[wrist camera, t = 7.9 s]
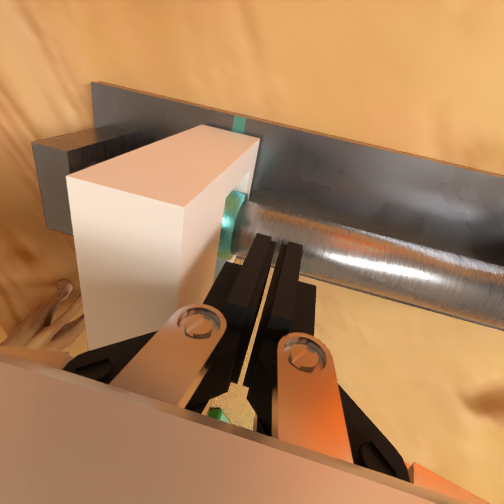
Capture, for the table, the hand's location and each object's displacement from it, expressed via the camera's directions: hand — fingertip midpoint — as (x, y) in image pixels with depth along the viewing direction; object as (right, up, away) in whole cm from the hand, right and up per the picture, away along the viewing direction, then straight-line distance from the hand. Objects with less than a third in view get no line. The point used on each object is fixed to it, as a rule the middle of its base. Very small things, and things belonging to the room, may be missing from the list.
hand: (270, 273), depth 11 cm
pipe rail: (+3, +3, +6) cm, 8 cm away
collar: (-2, +4, +6) cm, 7 cm away
